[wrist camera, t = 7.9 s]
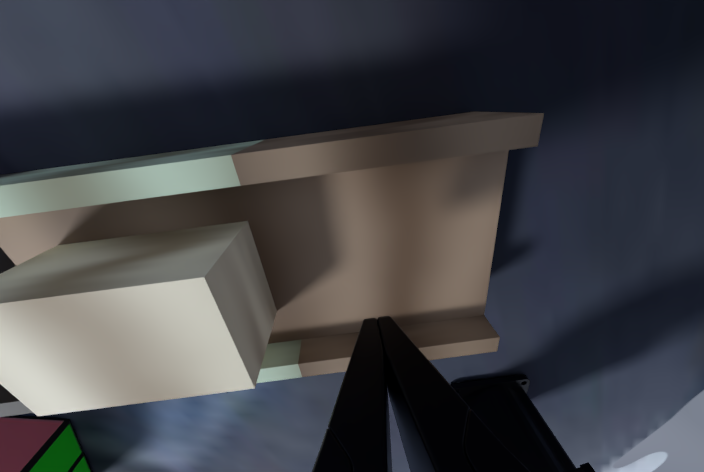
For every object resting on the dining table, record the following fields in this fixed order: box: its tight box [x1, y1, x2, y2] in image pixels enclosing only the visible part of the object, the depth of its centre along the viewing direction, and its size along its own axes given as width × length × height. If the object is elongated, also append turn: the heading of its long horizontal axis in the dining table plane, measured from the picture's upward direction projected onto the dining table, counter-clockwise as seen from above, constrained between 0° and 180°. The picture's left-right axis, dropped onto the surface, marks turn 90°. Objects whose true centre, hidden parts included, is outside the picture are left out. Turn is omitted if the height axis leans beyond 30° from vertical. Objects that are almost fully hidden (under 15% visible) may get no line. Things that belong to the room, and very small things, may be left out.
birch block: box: [0, 221, 277, 416], centre depth 10 cm, size 8×5×4 cm, turn 97°
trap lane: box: [0, 112, 544, 417], centre depth 12 cm, size 28×11×5 cm, turn 97°
